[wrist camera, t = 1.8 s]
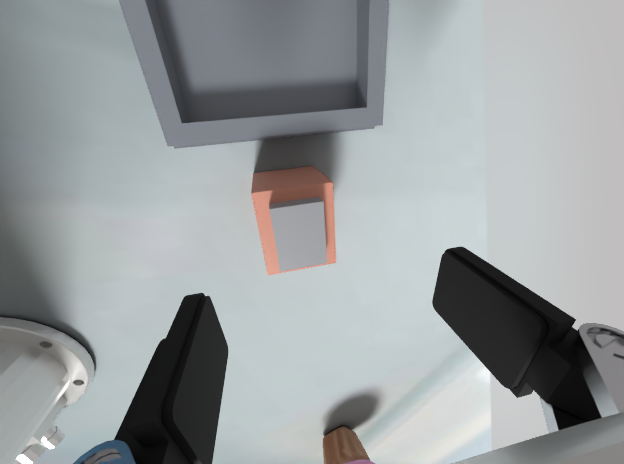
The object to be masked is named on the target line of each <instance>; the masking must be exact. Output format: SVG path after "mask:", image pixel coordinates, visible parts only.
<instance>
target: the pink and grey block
mask: <svg viewBox="0 0 624 464" xmlns="http://www.w3.org/2000/svg"><path fill="white" fill-rule="evenodd" d="M251 194H252V199H253V204H254V209H255V214H256V218H257V223H258V228H259V233H260V238H261V243H262V248H263V253H264V258H265V263H266V268H267V273H268V275H272V274H278V273H283V272H288V271H294V270H299V269H305V268H310V267H315V266H321V265H326V264H331V263H336V247H335V222H334V197H333V182H332V181H331V180H330V179H328V178H327V177H326V176H325V175H324V174H322V173H321V172H320V171H319V170H318V169H316V168H315V167H314V166H308V167H299V168H291V169H283V170H274V171H266V172H258V173H253V182H252V192H251Z"/></svg>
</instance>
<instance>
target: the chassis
mask: <svg viewBox="0 0 624 464" xmlns="http://www.w3.org/2000/svg"><path fill="white" fill-rule="evenodd" d="M119 2H120V5H121V8H122V11H123V14H124V17H125V20H126V23H127V26H128V29H129V32H130V35H131V38H132V41H133V44H134V47H135V50H136V53H137V56H138V59H139V62H140V65H141V68H142V71H143V74H144V77H145V80H146V83H147V86H148V89H149V92H150V95H151V98H152V101H153V104H154V107H155V110H156V113H157V116H158V119H159V122H160V125H161V127H162V130H163V133H164V136H165V139H166V142H167V145H168V146H174V148H184V147H194V146H204V145H214V144H224V143H234V142H244V141H254V140H264V139H274V138H284V137H294V136H304V135H314V134H323V133H333V132H343V131H353V130H363V129H373V128H374V126H378V125H383V105H384V85H385V66H386V46H387V26H388V7H389V0H119Z"/></svg>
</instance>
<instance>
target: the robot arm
mask: <svg viewBox="0 0 624 464" xmlns="http://www.w3.org/2000/svg"><path fill="white" fill-rule="evenodd" d="M432 303H433V307H434V309H435V310H436V312H437V313H438V314H439V315H440V316H441V317H442V318H443V319H444V321H445V322H446V323H447V324H448V325H449V326H450V327H451V328H452V330H453V331H454V332H455V333H456V334H457V335H458V336H459V337H460V338H461V340H462V341H463V342H464V343H465V344H466V345H467V346H468V347H469V349H470V350H471V351H472V352H473V353H474V354H475V355H476V356H477V358H478V359H479V360H480V361H481V362H482V363H483V364H484V365H485V366H486V368H487V369H488V370H489V371H490V372H491V373H492V374H493V375H494V376H495V378H496V379H497V380H498V381H499V382H500V383H501V384H502V385H503V386H504V387H506V388H508V389H510V390H511V391H512V393H513V394H514V395H515V396H516V397H517V398H518V397H522V396H525V395H529V394H531V393H532V392H533V390H534V391H535V392H536V393H537V394H538V395H539V396H540V400H541V404H542V408H543V412H544V415H545V419H546V423H547V427H548V431H549V434H546V435H543V436H539V437H536V438H533V439H530V440H526V441H523V442H520V443H517V444H513V445H510V446H507V447H504V448H500V449H497V450H494V451H491V452H487V453H484V454H481V455H478V456H475V457H471V458H468V459H465V460H462V461H459V462H455V463H452V464H624V332H623V331H621V330H619V329H616V328H613V327H610V326H607V325H603V324H596V323H586V324H583V325H581V326H580V328H579V329H578V331H577V330H575V329H574V328H572V325H573V324H574V322H575V321H576V319H574V318H573V317H571V316H570V315H568V314H566V313H565V312H563V311H562V310H560V309H559V308H557V307H556V306H554V305H552V304H551V303H549V302H548V301H546V300H545V299H543V298H542V297H540V296H538V295H537V294H535V293H534V292H532V291H531V290H529V289H528V288H526V287H525V286H523V285H521V284H520V283H518V282H517V281H515V280H514V279H512V278H510V277H509V276H508V275H506V274H504V273H503V272H501V271H500V270H498V269H497V268H495V267H494V266H492V265H491V264H489V263H487V262H486V261H484V260H483V259H481V258H480V257H478V256H477V255H475V254H474V253H472V252H470V251H469V250H467V249H466V248H464V247H456V248H450V249H447V250H446V251H445V253H444V254H443V255H442V258H441V263H440V267H439V272H438V277H437V282H436V287H435V292H434V296H433V302H432ZM227 359H228V345H227V342H226V339H225V337H224V334H223V331H222V328H221V326H220V323H219V320H218V317H217V315H216V312H215V309H214V306H213V304H212V301H211V298H210V297H209V296H205V295H204V294H203V293H199V294H193V295H187V296H185V297H184V299H183V301H182V303H181V305H180V307H179V310H178V312H177V314H176V317H175V319H174V321H173V323H172V326H171V328H170V330H169V332H168V335H167V337H166V339H163V340H162V341H160V343H159V345H158V346H157V348H156V351H155V353H154V355H153V357H152V359H151V361H150V363H149V366H148V368H147V370H146V372H145V374H144V376H143V379H142V381H141V383H140V385H139V387H138V389H137V392H136V394H135V396H134V398H133V400H132V402H131V405H130V407H129V409H128V411H127V413H126V415H125V417H124V420H123V422H122V424H121V426H120V428H119V430H118V433H117V435H116V437H115V439H114V440H112V441H106V442H104V443H102V444H100V445H97V446H95V447H94V448H92V449H91V450H89V451H88V452H86V453H85V454H83V455H82V456H81V457H80V458H79V459H78V460H77V461H75V462H74V463H73V464H212V460H213V453H214V446H215V440H216V433H217V426H218V419H219V413H220V406H221V399H222V392H223V386H224V379H225V372H226V365H227ZM94 373H95V370H94V363H93V361H92V358H91V356H90V355H89V353H88V352H87V351H86V350H85V348H84V347H83V346H82V345H80V344H79V343H78V342H77V341H76V340H74V339H73V338H71V337H69V336H68V335H66V334H64V333H62V332H60V331H58V330H56V329H53V328H51V327H48V326H45V325H42V324H38V323H35V322H31V321H26V320H20V319H15V318H3V317H0V464H13V463H14V462H16V463H17V464H31V463H33V462H34V461H36V460H37V459H38V458H39V457H40V456H41V455H42V454H43V452H44V451H45V449H52V448H54V447H55V446H57V445H58V444H59V443H60V442H61V441H62V440H63V438H64V433H63V432H62V431H61V430H60V429H59V428H58V427H57V426H54V425H53V423H54V420H55V419H56V417H57V416H58V414H59V413H60V412H61V410H62V409H63V408H65V407H67V406H69V405H71V404H73V403H74V402H75V401H77V400H78V399H79V398H80V397H81V396H82V395H83V394H84V393H85V392H86V390H87V388H88V387H89V385H90V383H91V382H92V380H93V377H94Z"/></svg>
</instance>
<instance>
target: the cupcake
mask: <svg viewBox="0 0 624 464" xmlns="http://www.w3.org/2000/svg"><path fill="white" fill-rule="evenodd" d="M323 455H324V464H375V463H373V462H371V461H370V459H369V457H368V455H367V453H366V451H365V449H364V448H363V446H362V444H361V442H360V440H359V439H358V437H357V435H356V433H355V432H354V431H352V430H349V429H348V428H346V427H339V428H337V429H336V430H334V431H332V432H331V433H329V434H327V435H326V436H324V438H323Z"/></svg>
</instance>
